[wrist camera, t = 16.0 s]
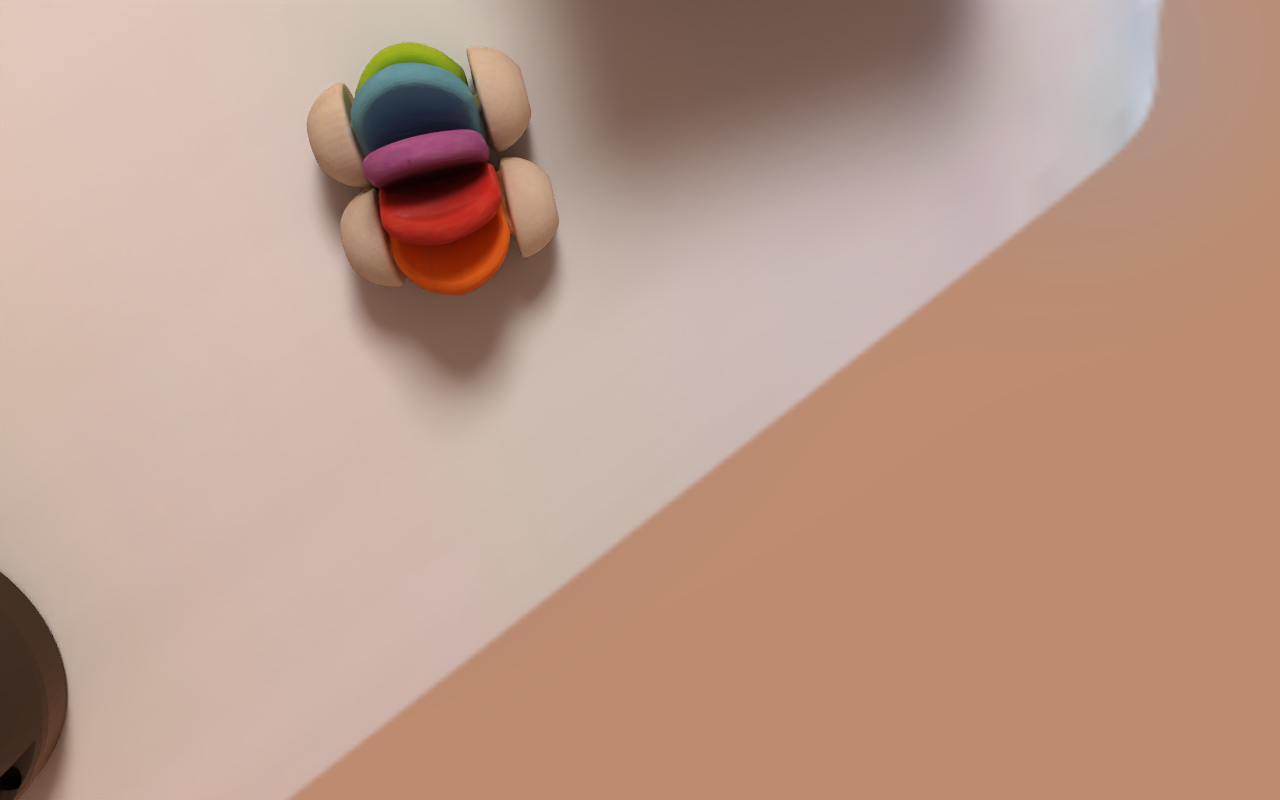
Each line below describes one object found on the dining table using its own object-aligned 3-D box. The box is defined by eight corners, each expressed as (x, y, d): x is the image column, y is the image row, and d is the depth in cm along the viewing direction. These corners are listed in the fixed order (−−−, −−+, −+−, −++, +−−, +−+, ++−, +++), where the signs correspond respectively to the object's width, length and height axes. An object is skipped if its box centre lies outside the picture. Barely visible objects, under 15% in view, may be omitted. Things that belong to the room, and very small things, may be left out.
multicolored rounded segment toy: (375, 305, 45) (345, 341, 38) (302, 72, 43) (256, 64, 36) (569, 256, 46) (575, 283, 39) (509, 21, 43) (504, 4, 36)
